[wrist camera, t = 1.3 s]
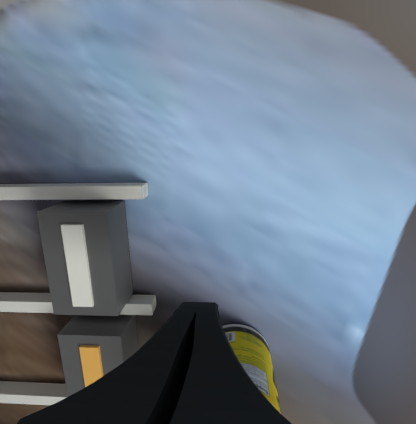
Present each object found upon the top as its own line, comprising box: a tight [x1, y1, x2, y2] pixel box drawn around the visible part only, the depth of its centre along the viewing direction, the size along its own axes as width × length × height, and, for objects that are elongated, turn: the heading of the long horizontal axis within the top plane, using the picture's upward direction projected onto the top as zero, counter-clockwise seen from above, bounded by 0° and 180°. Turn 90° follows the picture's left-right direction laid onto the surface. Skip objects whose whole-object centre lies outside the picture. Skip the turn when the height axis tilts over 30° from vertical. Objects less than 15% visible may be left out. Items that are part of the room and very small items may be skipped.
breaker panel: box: [0, 183, 157, 405], centre depth 20 cm, size 16×14×2 cm
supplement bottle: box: [222, 324, 281, 414], centre depth 17 cm, size 5×5×8 cm
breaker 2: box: [57, 315, 139, 397], centre depth 20 cm, size 6×4×3 cm, turn 1°
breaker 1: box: [36, 201, 133, 316], centre depth 18 cm, size 6×4×3 cm, turn 1°
